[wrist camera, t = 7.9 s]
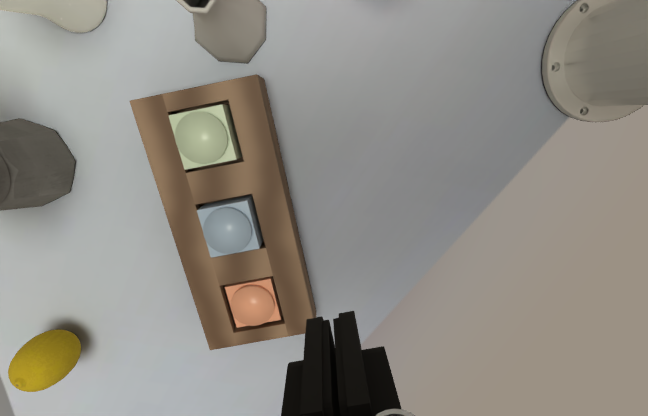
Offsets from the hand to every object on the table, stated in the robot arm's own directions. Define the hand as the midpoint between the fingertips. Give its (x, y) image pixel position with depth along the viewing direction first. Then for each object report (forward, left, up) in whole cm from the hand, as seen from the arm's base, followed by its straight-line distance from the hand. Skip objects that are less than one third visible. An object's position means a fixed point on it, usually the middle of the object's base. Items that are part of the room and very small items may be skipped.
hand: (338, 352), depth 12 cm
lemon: (+34, +12, -27) cm, 45 cm away
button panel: (+10, +1, -27) cm, 29 cm away
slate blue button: (+10, +1, -25) cm, 27 cm away
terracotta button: (+10, +10, -26) cm, 30 cm away
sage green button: (+10, -8, -25) cm, 28 cm away
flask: (+6, -18, -27) cm, 33 cm away
